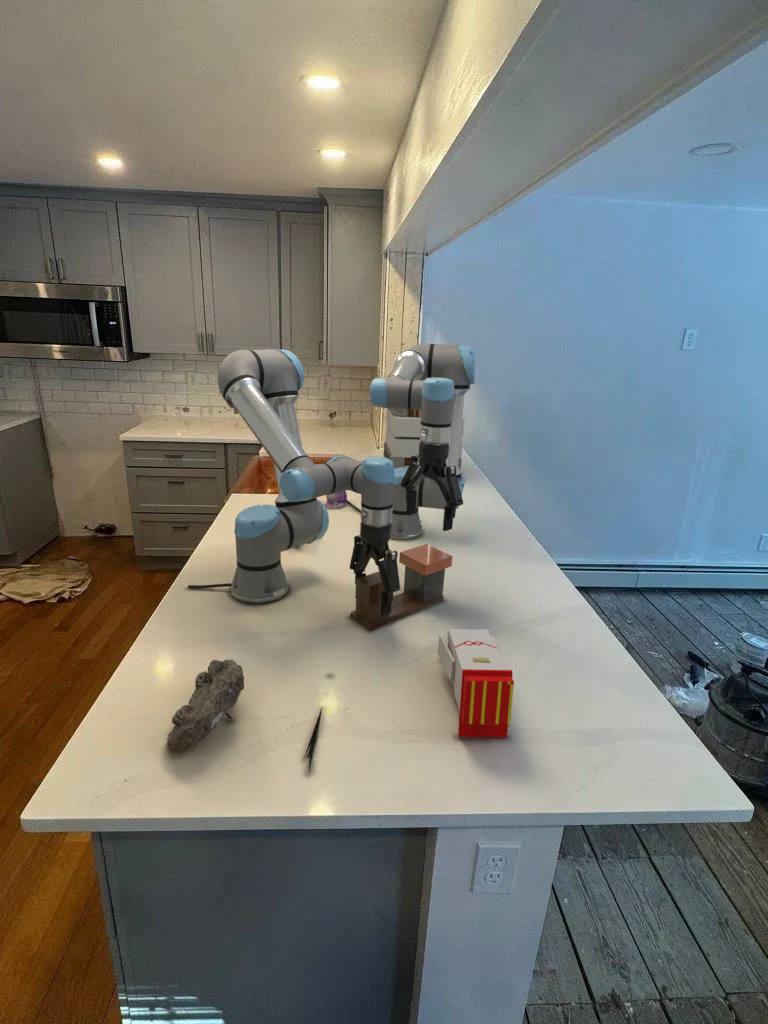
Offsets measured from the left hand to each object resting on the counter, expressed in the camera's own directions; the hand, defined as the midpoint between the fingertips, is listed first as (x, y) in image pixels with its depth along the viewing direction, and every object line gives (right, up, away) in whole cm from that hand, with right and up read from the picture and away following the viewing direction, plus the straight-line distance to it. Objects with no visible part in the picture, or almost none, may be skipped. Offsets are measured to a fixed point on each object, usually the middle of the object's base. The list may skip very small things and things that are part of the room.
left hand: (372, 605), depth 143 cm
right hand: (+14, +21, +5) cm, 26 cm away
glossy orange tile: (+14, +8, +9) cm, 19 cm away
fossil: (-30, -16, -35) cm, 49 cm away
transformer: (+20, +42, +132) cm, 140 cm away
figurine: (-16, +26, +82) cm, 88 cm away
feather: (-10, -16, -34) cm, 39 cm away
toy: (+21, -14, -25) cm, 35 cm away
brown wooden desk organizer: (+7, -2, +7) cm, 10 cm away
